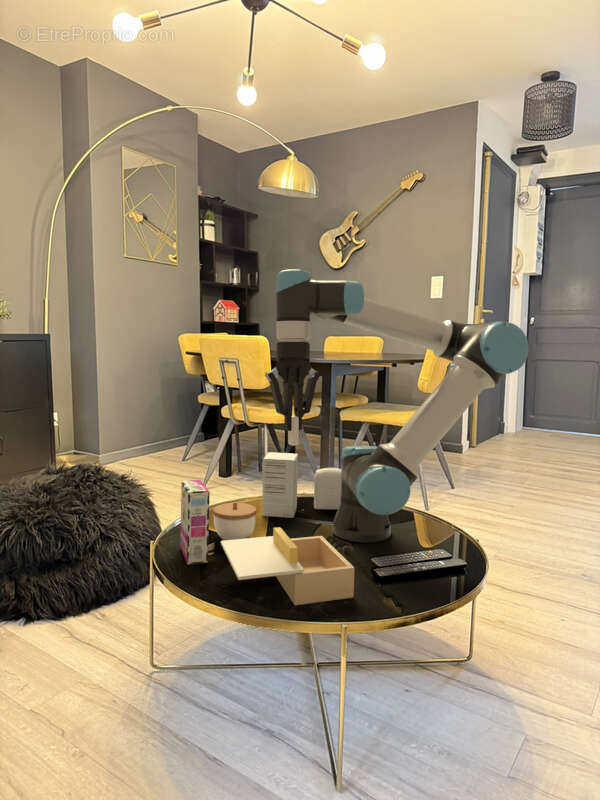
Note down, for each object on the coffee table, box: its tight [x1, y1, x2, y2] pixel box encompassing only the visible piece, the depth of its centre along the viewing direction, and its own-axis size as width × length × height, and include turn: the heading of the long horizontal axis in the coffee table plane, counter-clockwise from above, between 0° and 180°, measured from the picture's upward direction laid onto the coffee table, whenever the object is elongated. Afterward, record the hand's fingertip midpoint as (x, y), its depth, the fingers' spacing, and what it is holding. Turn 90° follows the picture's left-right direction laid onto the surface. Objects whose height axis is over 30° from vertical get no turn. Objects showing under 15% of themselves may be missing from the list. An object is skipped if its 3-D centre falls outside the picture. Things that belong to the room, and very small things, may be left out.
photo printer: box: [313, 467, 341, 510], centre depth 160 cm, size 10×4×12 cm, turn 88°
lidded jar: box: [212, 501, 257, 541], centre depth 133 cm, size 11×11×9 cm
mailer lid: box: [220, 526, 304, 581], centre depth 106 cm, size 12×18×4 cm
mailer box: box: [275, 535, 355, 606], centre depth 110 cm, size 12×18×6 cm, turn 18°
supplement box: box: [261, 451, 299, 519], centre depth 155 cm, size 10×9×17 cm
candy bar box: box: [180, 479, 210, 566], centre depth 122 cm, size 11×5×16 cm, turn 21°
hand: (293, 444), depth 122 cm, fingers closed
